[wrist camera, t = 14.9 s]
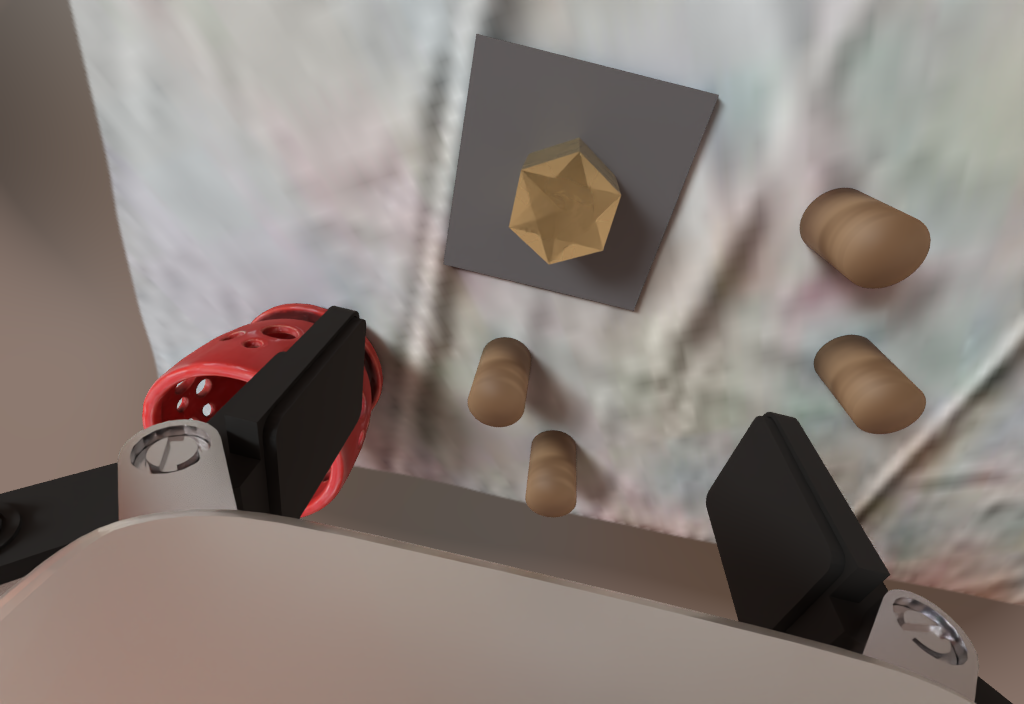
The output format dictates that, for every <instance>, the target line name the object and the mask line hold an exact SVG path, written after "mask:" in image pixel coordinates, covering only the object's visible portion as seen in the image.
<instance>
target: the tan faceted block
mask: <svg viewBox="0 0 1024 704" xmlns="http://www.w3.org/2000/svg"><path fill="white" fill-rule="evenodd" d="M620 197H621V193H620V189H619V186H618V183H617V180H616V177H615V175H614V174H613V173H612V172H611V171H610V170H609V168H608V167H607V166H606V165H605V164H604V163H603V162H602V161H601V160H600V159H599V158H598V157H597V156H596V155H595V154H594V153H593V152H592V150H591V149H590V148H589V147H588V146H587V145H586V144H585V143H584V142H583V141H582V140H581V139H580V138H576V139H573V140H570V141H567V142H564V143H561V144H558V145H555V146H551V147H548V148H545V149H542V150H539V151H536V152H533V153H530V154H529V155H528V157H527V159H526V161H525V163H524V165H523V167H522V169H521V173H520V177H519V182H518V187H517V191H516V196H515V201H514V205H513V210H512V215H511V220H510V224H509V228H510V229H511V230H512V231H513V232H514V233H516V234H517V235H518V236H519V237H520V238H521V239H522V240H523V241H524V242H525V243H526V244H527V245H528V246H530V247H531V248H532V249H533V250H534V251H535V252H536V253H537V254H538V255H539V256H540V257H541V258H542V259H543V260H545V261H546V262H547V263H548V264H553V263H557V262H561V261H565V260H569V259H572V258H576V257H580V256H584V255H588V254H592V253H595V252H599V251H603V249H604V246H605V243H606V240H607V237H608V234H609V231H610V228H611V224H612V221H613V218H614V215H615V212H616V209H617V206H618V203H619V200H620Z"/></svg>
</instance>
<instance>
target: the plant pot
mask: <svg viewBox="0 0 1024 704" xmlns="http://www.w3.org/2000/svg"><path fill="white" fill-rule="evenodd" d="M326 311H327V309H325V308H321V307H318V306H314V305H310V304H298V303H295V304H284V305H280V306H276V307H273V308H271V309H269V310H267V311H265V312H263V313H262V314H260V315H259V316H258V317H256V318H255V319H254V320H253V321H252V322H251V324H248V325H245V326H242V327H239V328H237V329H235V330H233V331H230V332H228V333H225V334H223V335H221V336H219V337H217V338H215V339H213V340H211V341H210V342H208V343H207V344H205V345H203V346H202V347H200V348H198V349H197V350H195V351H194V352H192V353H191V354H189V355H188V356H186V357H185V358H184V359H182V360H181V361H179V362H178V363H177V364H176V365H174V366H173V367H172V368H171V369H169V370H168V371H167V372H166V373H165V374H163V375H162V376H161V377H160V378H159V379H158V380H157V381H156V382H155V383H154V384H153V385H152V387H151V388H150V390H149V392H148V394H147V396H146V398H145V401H144V405H143V414H142V417H143V426H144V429H146V428H148V427H150V426H152V425H156V424H159V423H163V422H166V421H172V420H181V419H186V420H189V419H190V418H192V419H193V420H198V421H201V422H204V423H207V422H208V421H209V420H210V419H211V418H212V417H213V416H214V415H215V414H216V413H217V412H218V411H219V410H220V409H221V408H222V407H223V406H224V405H225V404H226V403H227V402H228V401H229V400H230V399H231V398H232V397H233V396H234V395H235V394H236V393H237V392H238V391H239V390H240V389H241V388H242V387H243V386H244V385H245V384H246V383H247V382H248V381H249V380H250V379H251V378H252V377H253V376H254V375H255V374H256V373H257V372H258V371H259V370H260V369H261V368H263V367H264V366H265V365H266V364H267V363H268V362H269V361H270V360H271V359H272V358H273V357H274V356H275V355H276V354H277V353H279V352H282V351H285V352H287V351H288V350H289V349H290V348H291V347H292V345H293V344H294V343H295V342H296V341H297V340H298V339H299V338H300V337H301V336H302V335H303V334H304V333H305V332H306V331H307V330H308V329H309V328H310V327H311V326H312V325H313V324H314V323H315V322H316V321H317V320H318V319H319V318H320V317H321V316H322V315H323V314H324V313H325V312H326ZM204 379H206V381H205V386H204V388H203V390H202V391H201V392H200V393H198V394H196V388H197V386H198V384H199V383H200V382H201V381H202V380H204ZM182 381H183V382H182ZM180 382H182V383H181V384H180V385H179V386H178V387H176V386H177V384H178V383H180ZM382 385H383V375H382V368H381V364H380V361H379V358H378V356H377V354H376V352H375V350H374V348H373V346H372V345H371V343H370V342H369V340H368V339H367V338H366V337H365V356H364V376H363V396H362V410H361V415H360V418H359V420H358V422H357V424H356V426H355V427H354V429H353V431H352V432H351V434H350V436H349V437H348V439H347V441H346V442H345V444H344V446H343V447H342V449H341V451H340V452H339V454H338V456H337V457H336V459H335V461H334V462H333V464H332V466H331V467H330V469H329V471H328V472H327V474H326V475H325V477H324V479H323V480H322V482H321V484H320V485H319V487H318V489H317V490H316V492H315V494H314V495H313V497H312V499H311V500H310V502H309V504H308V505H307V507H306V509H305V510H304V512H303V514H302V515H301V517H305V516H308V515H310V514H313V513H315V512H317V511H319V510H321V509H322V508H323V507H325V506H326V505H328V504H329V503H330V502H331V501H332V500H333V499H334V498H335V497H336V495H337V494H338V493H339V491H340V489H341V488H342V486H343V485H344V483H345V481H346V479H347V477H348V476H349V474H350V472H351V470H352V468H353V466H354V463H355V461H356V459H357V457H358V455H359V452H360V450H361V448H362V445H363V442H364V439H365V436H366V432H367V429H368V425H369V422H370V416H371V410H372V409H373V408H374V407H375V405H376V404H377V402H378V400H379V397H380V395H381V391H382ZM181 398H182V403H181V405H180V406H179V408H178V409H177V404H178V402H179V400H180V399H181ZM208 403H209V404H210V406H211V413H210V415H208V416H205V415H204V414H203V407H204V406H205V405H206V404H208ZM301 517H300V518H301Z"/></svg>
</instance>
